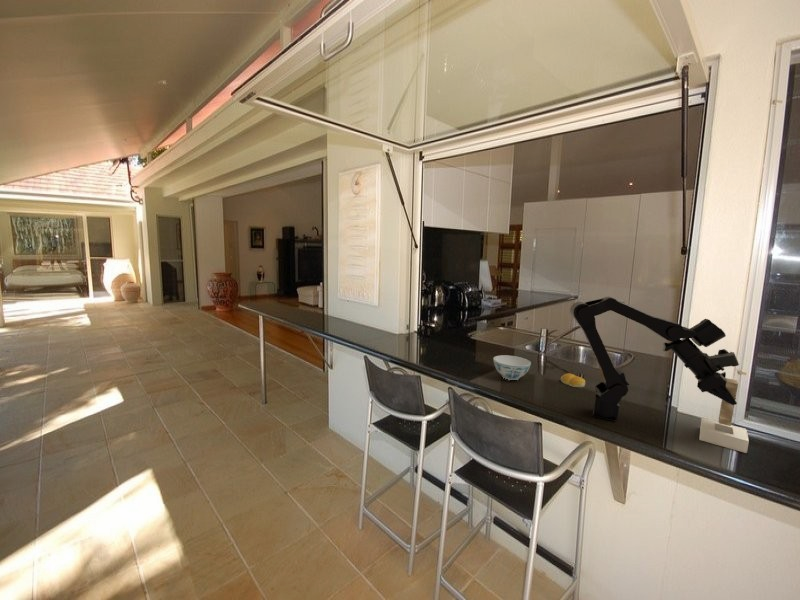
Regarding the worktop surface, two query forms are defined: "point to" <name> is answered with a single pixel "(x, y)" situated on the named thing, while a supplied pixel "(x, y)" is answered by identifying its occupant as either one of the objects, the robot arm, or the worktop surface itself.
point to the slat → (726, 407)
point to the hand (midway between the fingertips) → (734, 402)
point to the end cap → (724, 435)
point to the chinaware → (511, 366)
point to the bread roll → (573, 380)
